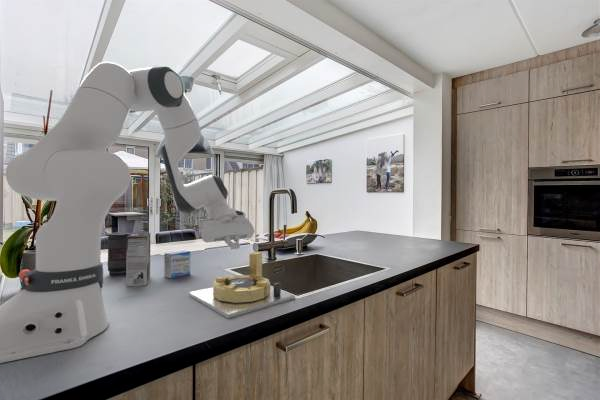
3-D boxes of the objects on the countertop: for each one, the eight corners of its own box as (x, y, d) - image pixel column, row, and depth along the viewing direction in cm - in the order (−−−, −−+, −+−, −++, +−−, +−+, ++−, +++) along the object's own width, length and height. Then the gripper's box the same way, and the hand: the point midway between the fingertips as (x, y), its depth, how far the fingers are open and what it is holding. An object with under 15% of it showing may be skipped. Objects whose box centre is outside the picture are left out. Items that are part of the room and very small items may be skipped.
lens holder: (232, 306, 78) (232, 267, 78) (203, 291, 90) (203, 257, 90) (287, 291, 91) (287, 258, 91) (256, 280, 103) (256, 250, 102)
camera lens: (137, 271, 116) (138, 232, 115) (123, 277, 108) (123, 235, 107) (117, 271, 116) (117, 231, 116) (101, 276, 108) (102, 234, 108)
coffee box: (130, 279, 106) (130, 232, 105) (150, 277, 108) (151, 232, 108) (125, 287, 97) (125, 236, 97) (147, 285, 99) (148, 235, 99)
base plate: (227, 318, 74) (227, 300, 74) (189, 295, 90) (189, 280, 90) (294, 298, 89) (295, 283, 89) (251, 281, 105) (251, 268, 105)
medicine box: (170, 279, 107) (170, 254, 107) (163, 276, 110) (164, 252, 109) (190, 274, 113) (190, 251, 113) (183, 272, 116) (184, 249, 116)
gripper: (198, 213, 106) (212, 245, 99) (248, 212, 120) (262, 239, 114) (193, 225, 110) (205, 257, 103) (241, 222, 124) (255, 250, 117)
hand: (236, 248), depth 108 cm, fingers closed
